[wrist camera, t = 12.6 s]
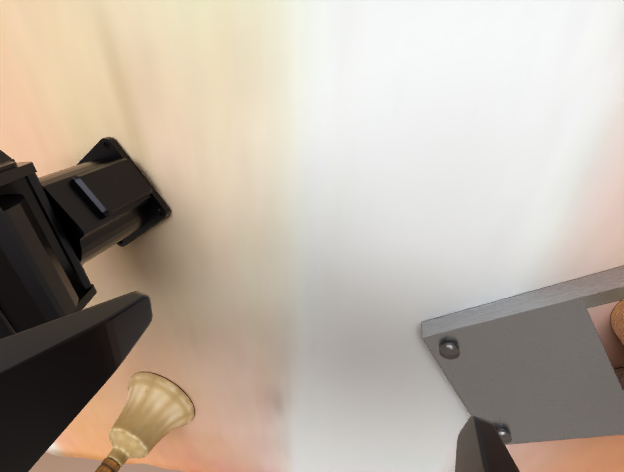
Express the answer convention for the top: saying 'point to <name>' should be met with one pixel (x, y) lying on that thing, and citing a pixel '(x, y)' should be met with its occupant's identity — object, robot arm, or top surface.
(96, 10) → the top surface
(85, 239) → the robot arm
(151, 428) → the hand bell
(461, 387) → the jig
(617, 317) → the disc
